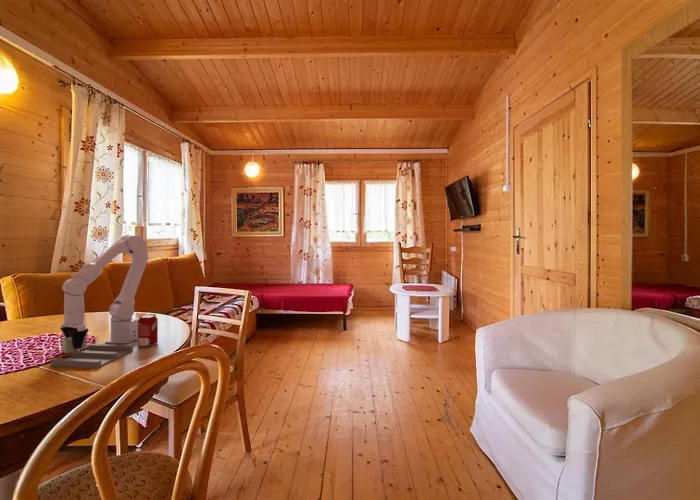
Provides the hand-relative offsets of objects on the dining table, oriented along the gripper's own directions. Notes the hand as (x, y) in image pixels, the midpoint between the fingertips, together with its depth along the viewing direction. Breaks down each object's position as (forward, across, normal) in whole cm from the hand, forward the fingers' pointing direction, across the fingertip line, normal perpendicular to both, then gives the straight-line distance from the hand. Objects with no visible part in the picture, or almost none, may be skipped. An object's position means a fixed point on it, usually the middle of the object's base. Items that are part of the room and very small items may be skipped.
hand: (74, 346), depth 119 cm
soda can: (+2, +15, +19) cm, 24 cm away
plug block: (+2, 0, 0) cm, 2 cm away
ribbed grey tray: (+1, +15, +1) cm, 15 cm away
